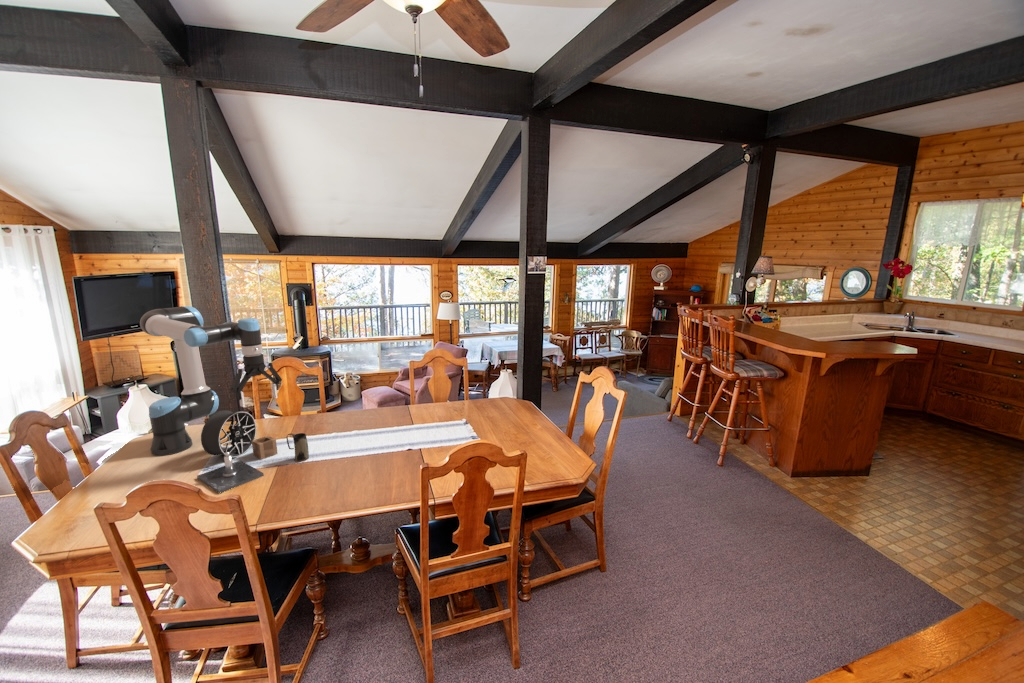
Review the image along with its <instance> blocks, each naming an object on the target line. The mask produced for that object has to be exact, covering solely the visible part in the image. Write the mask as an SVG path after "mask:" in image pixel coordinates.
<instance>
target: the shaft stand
mask: <svg viewBox="0 0 1024 683" xmlns="http://www.w3.org/2000/svg"><path fill="white" fill-rule="evenodd" d="M223 461H224V465H223V466H221V467H218V468H215V469H212V470H210V471H206V472H205V473H201V474H199V475H196V479H197V480H198V481H200V482H201V483H203V484H204V485H206V486H207V487H208V488H210V489H212V490H213V491H215V492H216V491H217V492H216V493H218V492H219V493H220V492H223V493H224V491H225V492H227V491H226V490H228V491H230V490H232V489H231V488H233V489H235V488H238V487H240V486H242V485H245V484H247V483H249V482H252V481H255V480H257V479H260V478H262V477H264V476H265V475H264V472H262V471H261V470H259V469H257V468H255V467H253V466H251V465H250V464H248V463H246V462H244V461H242V460H241V459H240V460H237V461H234V462H233V457H232V456H231V455H230V454H229V452H226V453H225V456H224V455H223ZM239 485H240V486H239ZM234 487H235V488H234ZM229 489H230V490H229ZM219 493H218V494H219ZM220 494H221V493H220Z"/></svg>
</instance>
